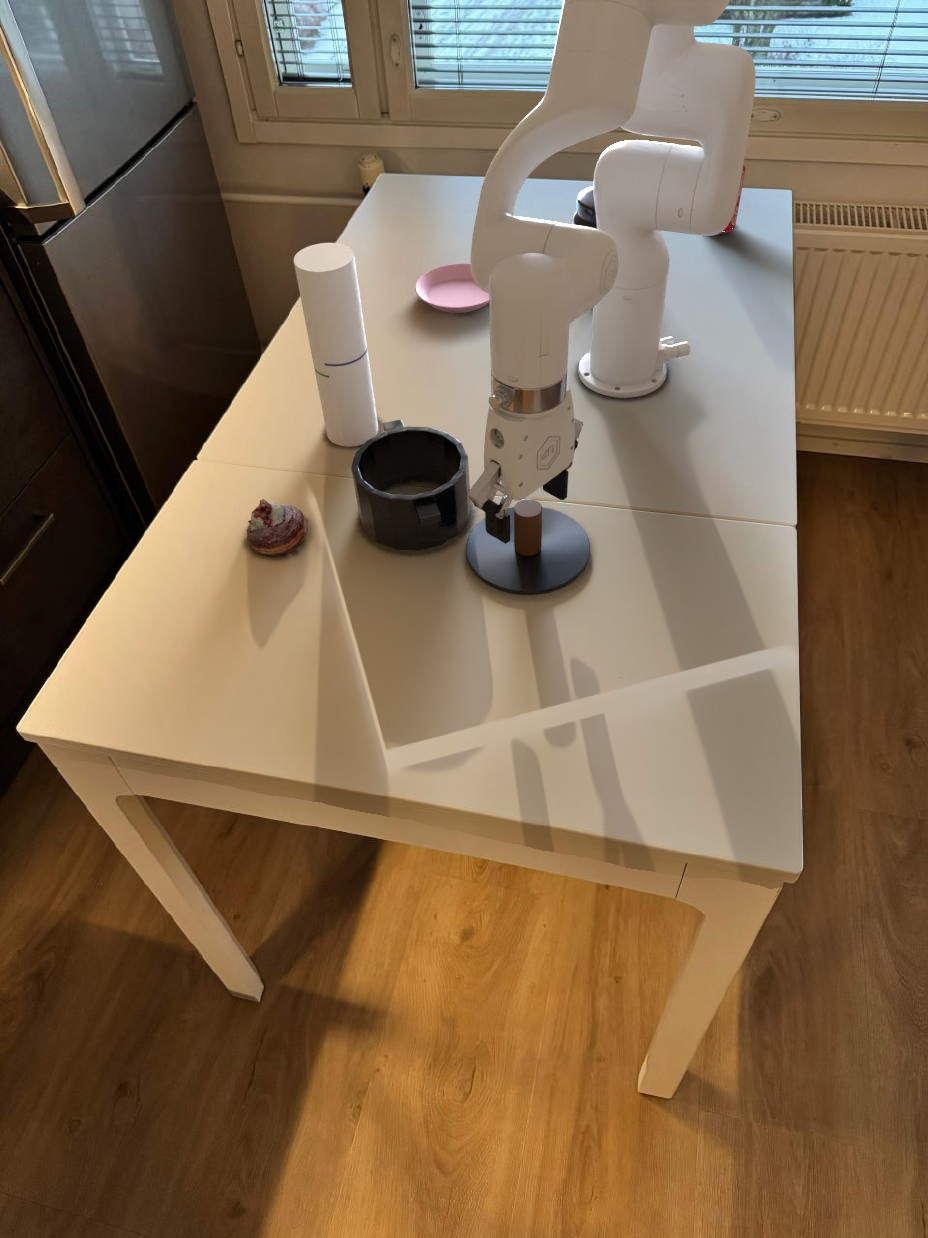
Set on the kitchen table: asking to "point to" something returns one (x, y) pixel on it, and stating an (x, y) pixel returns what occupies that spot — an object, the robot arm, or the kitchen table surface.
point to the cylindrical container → (337, 341)
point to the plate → (451, 289)
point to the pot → (407, 460)
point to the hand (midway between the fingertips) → (527, 515)
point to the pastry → (276, 528)
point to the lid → (530, 551)
